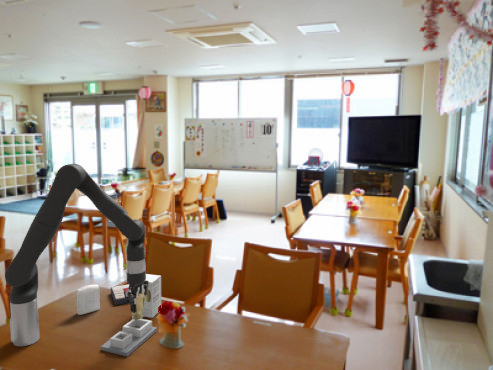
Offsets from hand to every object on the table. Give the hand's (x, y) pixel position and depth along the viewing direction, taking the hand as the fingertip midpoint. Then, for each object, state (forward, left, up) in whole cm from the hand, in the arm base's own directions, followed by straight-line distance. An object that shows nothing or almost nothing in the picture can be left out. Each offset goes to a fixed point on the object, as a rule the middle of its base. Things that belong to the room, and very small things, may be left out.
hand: (137, 309), depth 158 cm
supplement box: (-7, +18, -11) cm, 22 cm away
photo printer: (-33, +9, -11) cm, 36 cm away
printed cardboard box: (-27, +28, -11) cm, 41 cm away
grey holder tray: (0, -5, -11) cm, 12 cm away
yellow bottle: (0, 0, -3) cm, 3 cm away
